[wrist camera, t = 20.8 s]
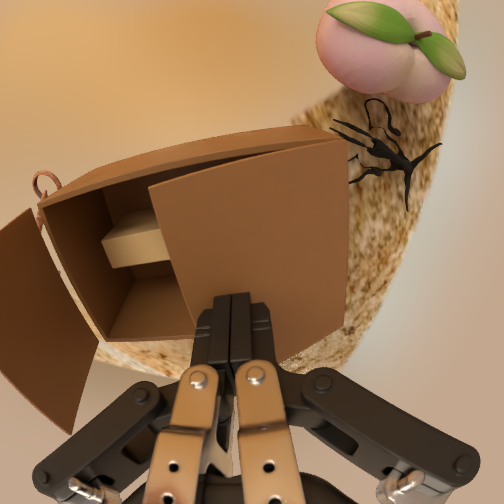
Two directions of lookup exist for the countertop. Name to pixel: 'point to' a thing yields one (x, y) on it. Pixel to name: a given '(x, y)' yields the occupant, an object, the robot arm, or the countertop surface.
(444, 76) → the decorative fruit
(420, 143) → the countertop surface
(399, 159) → the creature
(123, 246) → the tan wooden block
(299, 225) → the flap
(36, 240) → the carton
